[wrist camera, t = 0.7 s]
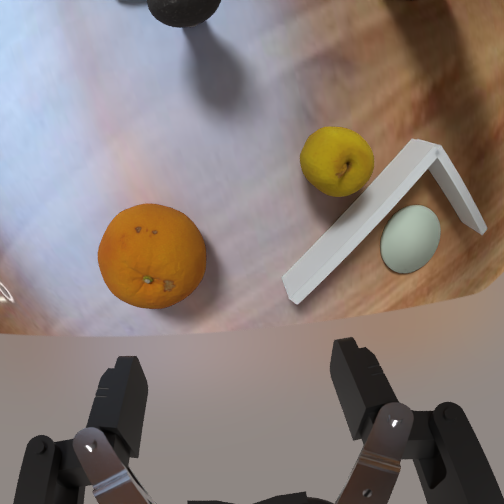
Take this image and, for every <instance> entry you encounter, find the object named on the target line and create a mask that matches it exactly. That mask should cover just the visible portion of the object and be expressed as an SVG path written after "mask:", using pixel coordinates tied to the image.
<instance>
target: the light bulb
mask: <svg viewBox="0 0 504 504" xmlns="http://www.w3.org/2000/svg"><path fill="white" fill-rule="evenodd" d="M220 2H221V0H147V3H148V7H149V10H150V12H151V13H152V15H153V16H154V17H155V18H156V19H157V20H159V21H160V22H162V23H164V24H166V25H168V26H172V27H179V28H181V27H194V26H196V25H198V24H200V23H202V22H204V21H205V20H207V19H208V18H210V17H211V16H212V15H213V14H214V13H215V11H216V10H217V8H218V7H219V4H220Z"/></svg>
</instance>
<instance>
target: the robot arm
mask: <svg viewBox="0 0 504 504" xmlns="http://www.w3.org/2000/svg"><path fill="white" fill-rule="evenodd" d="M330 374H331V378H332V381H333V384H334V387H335V389H336V392H337V395H338V398H339V401H340V404H341V406H342V409H343V412H344V415H345V418H346V421H347V424H348V427H349V430H350V432H351V435H352V438H353V440H358V439H362V441H363V444H364V446H363V448H362V450H361V452H360V454H359V457H358V459H357V461H356V463H355V465H354V468H353V469H352V472H351V474H350V476H349V477H348V479H347V482H346V483H345V485H344V487H343V489H342V491H341V493H340V494H339V496H338V498H337V500H336V502H335V504H387V503H388V500H389V498H390V496H391V493H392V490H393V488H394V485H395V483H396V481H397V478H398V475H399V472H400V469H401V466H400V461H401V459H413V462H414V465H415V467H416V470H417V473H418V476H419V479H420V482H421V485H422V488H423V491H424V494H425V497H426V501H427V504H504V498H503V496H502V494H501V491H500V488H499V486H498V483H497V481H496V479H495V476H494V474H493V472H492V469H491V467H490V465H489V463H488V460H487V458H486V456H485V454H484V452H483V449H482V447H481V445H480V443H479V441H478V439H477V437H476V435H475V433H474V431H473V429H472V427H471V425H470V423H469V421H468V419H467V417H466V415H465V413H464V411H463V409H462V408H461V407H460V406H458V405H457V404H455V403H452V402H444V403H441V404H439V405H438V406H437V407H436V408H435V410H434V411H413V410H410V408H409V407H407V406H406V405H404V404H402V403H399V401H398V399H397V398H396V396H395V394H394V392H393V390H392V388H391V386H390V384H389V382H388V380H387V378H386V376H385V374H384V373H383V370H382V368H381V366H379V362H378V360H377V359H376V357H375V355H374V354H373V353H372V352H370V350H368V349H367V348H366V347H364V348H358V346H357V344H356V342H355V340H354V338H353V337H350V338H344V339H337V340H335V341H334V344H333V350H332V356H331V362H330ZM147 396H148V385H147V380H146V377H145V375H144V373H143V370H142V367H141V365H140V362H139V360H138V358H137V357H136V356H119V357H118V358H117V361H116V364H115V368H112V369H111V368H108V369H107V371H106V372H105V373H104V374H103V375H102V377H101V379H100V382H99V385H98V390H97V392H96V397H95V398H94V402H93V405H92V409H91V412H90V416H89V419H88V423H87V426H86V428H84V429H82V430H80V431H79V432H78V433H77V434H76V435H75V437H74V439H70V440H65V441H59V442H53V440H52V439H51V438H49V437H48V436H45V435H38V436H36V437H34V438H32V439H31V440H30V441H29V443H28V444H27V447H26V451H25V455H24V458H23V463H22V466H21V470H20V474H19V479H18V483H17V488H16V493H15V498H14V503H13V504H83V503H84V494H85V486H88V485H92V486H93V488H94V490H93V494H94V496H95V498H96V500H97V502H98V503H99V504H156V502H155V501H154V500H153V499H152V498H151V496H150V495H149V494H148V492H147V491H146V490H145V488H144V487H143V486H142V484H141V483H140V481H139V480H138V479H137V477H136V476H135V474H134V473H133V471H132V470H131V469H130V467H129V466H128V463H129V457H132V458H138V456H139V448H140V441H141V433H142V427H143V421H144V414H145V407H146V402H147ZM188 504H233V503H227V502H222V501H188ZM254 504H334V503H331V502H329V501H326V500H323V499H319V498H312V497H307V496H306V492H299V493H293V494H286V495H279V496H275V497H272V498H269V499H266V500H263V501H260V502H257V503H254Z"/></svg>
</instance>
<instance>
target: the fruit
mask: <svg viewBox="0 0 504 504" xmlns="http://www.w3.org/2000/svg"><path fill="white" fill-rule="evenodd" d="M98 263H99V267H100V271H101V274H102V277H103V279H104V281H105V283H106V285H107V286H108V288H109V289H110V291H111V292H112V293H113V294H114V295H115V296H116V297H118V298H119V299H120V300H122V301H124V302H126V303H128V304H130V305H133V306H136V307H140V308H149V309H162V308H166V307H169V306H172V305H174V304H176V303H178V302H180V301H182V300H183V299H185V298H186V297H187V296H189V295H190V294H191V293H192V292H193V291H194V290H195V289H196V287H197V286H198V285H199V283H200V282H201V280H202V278H203V276H204V273H205V269H206V248H205V243H204V240H203V237H202V235H201V233H200V232H199V230H198V228H197V227H196V225H195V224H194V223H193V222H192V221H191V220H190V219H189V218H188V217H187V216H186V215H185V214H184V213H182V212H180V211H177V210H175V209H173V208H170V207H166V206H162V205H158V204H141V205H137V206H134V207H131V208H129V209H126V210H124V211H122V212H120V213H119V214H118V215H116V217H115V218H114V219H113V220H112V221H111V223H110V224H109V226H108V227H107V229H106V231H105V233H104V235H103V237H102V240H101V243H100V245H99V250H98Z"/></svg>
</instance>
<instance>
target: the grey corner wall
mask: <svg viewBox="0 0 504 504" xmlns="http://www.w3.org/2000/svg"><path fill="white" fill-rule="evenodd" d="M427 169H428V170H429V171H430V173H431V174H432V175H433V177H434V178H435V180H436V181H437V183H438V184H439V186H440V188H441V189H442V191H443V192H444V194H445V195H446V197H447V199H448V200H449V202H450V203H451V205H452V207H453V208H454V210H455V212H456V213H457V215H458V217H459V218H460V220H461V222H462V223H464V224H465V225H467V226H468V227H470V228H472V229H473V230H475V231H476V232H478V233H479V234H481V235H483V234H484V233H485V231H486V230H487V226H486V224H485V222H484V220H483V218H482V216H481V214H480V212H479V210H478V208H477V206H476V204H475V202H474V201H473V199H472V197H471V195H470V193H469V191H468V189H467V188H466V186H465V184H464V182H463V181H462V179H461V177H460V175H459V174H458V172H457V170H456V169H455V167H454V165H453V164H452V162H451V160H450V159H449V157H448V156H447V154H446V152H445V151H444V149H443V148H442V146H441V145H438V144H434V143H431V142H427V141H423V140H419V139H417V140H415V139H411V140H410V141H409V142H408V143H407V145H406V146H405V147H404V148H403V149H402V150H401V151H400V152H399V154H398V155H397V156H396V157H395V158H394V159H393V160H392V161H391V162H390V163H389V165H388V166H387V167H386V168H385V169H384V170H383V171H382V172H381V173H380V174H379V176H378V177H377V178H376V179H375V180H374V181H373V182H372V183H371V184H370V185H369V186H368V188H367V189H366V190H365V191H364V192H363V193H362V194H361V195H360V196H359V197H358V198H357V199H356V200H355V202H354V203H353V204H352V205H351V206H350V207H349V208H348V209H347V210H346V211H345V212H344V213H343V214H342V215H341V216H340V217H339V219H338V220H337V221H336V222H335V223H334V224H333V225H332V226H331V227H330V228H329V229H328V230H327V231H326V232H325V233H324V234H323V235H322V236H321V237H320V238H319V239H318V240H317V242H316V243H315V244H314V245H313V246H312V247H311V248H310V249H309V250H308V251H307V252H306V253H305V254H304V255H303V256H302V257H301V258H300V259H299V260H298V261H297V262H296V263H295V264H294V265H293V266H292V267H291V268H290V269H289V270H288V271H287V272H286V273H285V274H284V275H283V276H282V277H281V278H282V280H283V283H284V286H285V289H286V291H287V294H288V297H289V299H290V300H291V301H293V302H294V303H295V304H297V305H298V304H299V303H300V302H301V301H302V300H303V299H304V298H305V297H306V296H307V295H308V294H309V293H310V292H311V291H312V290H313V289H314V288H315V287H316V286H318V285H319V284H320V283H321V282H322V281H323V280H324V279H325V278H326V277H327V276H328V275H329V274H330V273H331V272H332V271H333V270H334V269H335V268H336V267H337V266H338V265H339V264H340V263H341V262H342V261H343V260H344V259H345V258H346V257H347V256H348V255H349V254H350V253H351V251H352V250H353V249H354V248H355V247H356V246H357V245H358V244H359V243H360V242H361V241H362V240H363V239H364V238H365V237H366V236H367V235H368V234H369V233H370V232H371V231H372V230H373V229H374V228H375V226H376V225H377V224H378V223H379V222H380V221H381V220H382V219H383V218H384V217H385V216H386V215H387V214H388V212H389V211H390V210H391V209H392V208H393V207H394V206H395V205H396V204H397V203H398V202H399V200H400V199H401V198H402V197H403V196H404V195H405V194H406V193H407V192H408V190H409V189H410V188H411V187H412V186H413V185H414V184H415V183H416V181H417V180H418V179H419V178H420V177H421V176H422V175H423V173H424V172H425V171H426V170H427Z"/></svg>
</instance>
